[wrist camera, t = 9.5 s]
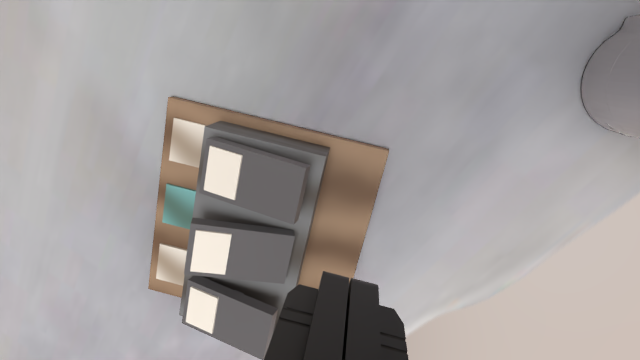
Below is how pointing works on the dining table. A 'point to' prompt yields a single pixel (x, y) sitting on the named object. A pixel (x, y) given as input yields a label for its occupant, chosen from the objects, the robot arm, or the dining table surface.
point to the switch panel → (332, 205)
